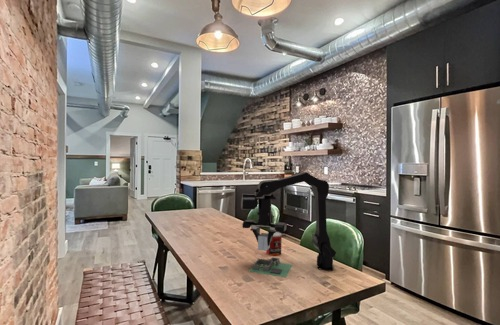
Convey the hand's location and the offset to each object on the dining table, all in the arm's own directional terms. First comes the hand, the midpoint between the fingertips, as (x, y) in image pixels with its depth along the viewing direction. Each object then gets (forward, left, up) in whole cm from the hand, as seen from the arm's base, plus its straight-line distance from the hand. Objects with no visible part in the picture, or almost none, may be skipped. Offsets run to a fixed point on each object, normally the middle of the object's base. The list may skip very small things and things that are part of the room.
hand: (264, 244), depth 123 cm
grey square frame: (0, 0, -10) cm, 10 cm away
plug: (0, 0, -2) cm, 2 cm away
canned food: (+1, -20, -11) cm, 23 cm away
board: (-3, 0, -11) cm, 11 cm away
